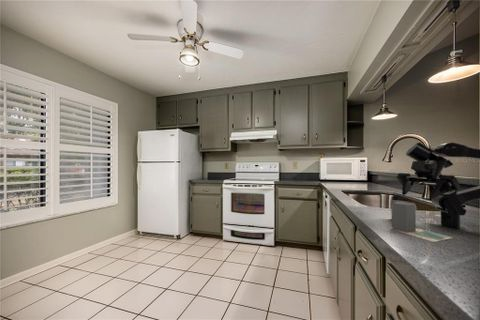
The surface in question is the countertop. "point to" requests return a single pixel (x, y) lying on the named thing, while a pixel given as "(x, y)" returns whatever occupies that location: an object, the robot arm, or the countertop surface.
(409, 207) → the tall gray pillar
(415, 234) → the stand board
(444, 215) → the robot arm
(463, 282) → the countertop surface
